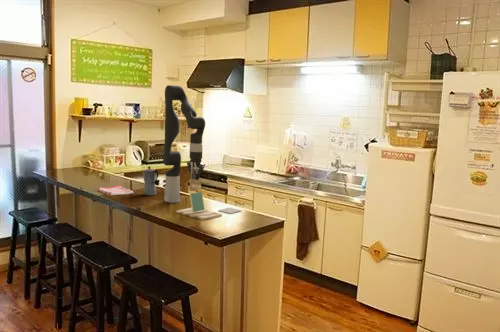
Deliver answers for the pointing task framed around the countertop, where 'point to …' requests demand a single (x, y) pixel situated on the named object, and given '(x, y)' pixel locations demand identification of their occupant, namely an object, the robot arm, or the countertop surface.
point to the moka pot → (150, 181)
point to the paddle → (195, 182)
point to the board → (199, 214)
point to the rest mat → (230, 210)
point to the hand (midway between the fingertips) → (195, 179)
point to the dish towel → (115, 190)
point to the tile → (196, 202)
